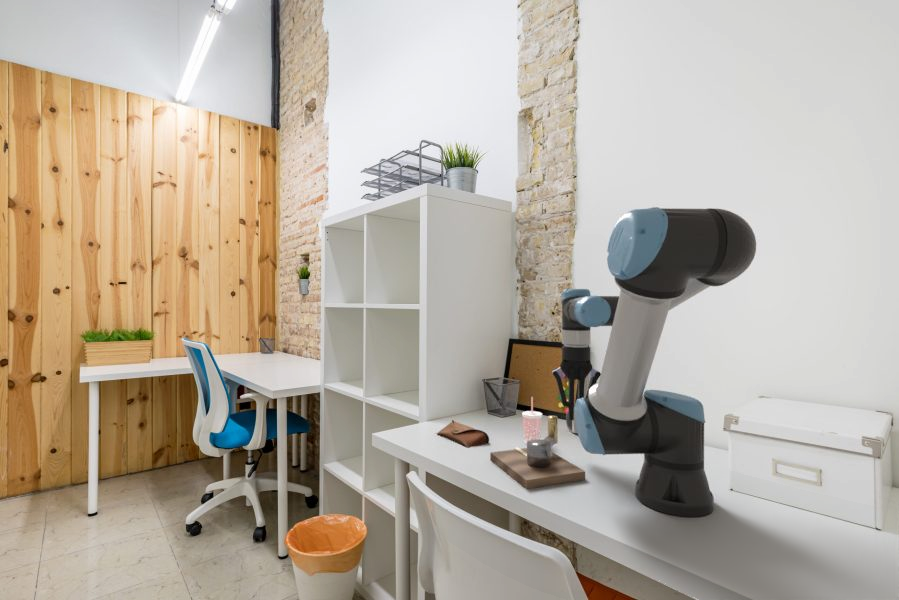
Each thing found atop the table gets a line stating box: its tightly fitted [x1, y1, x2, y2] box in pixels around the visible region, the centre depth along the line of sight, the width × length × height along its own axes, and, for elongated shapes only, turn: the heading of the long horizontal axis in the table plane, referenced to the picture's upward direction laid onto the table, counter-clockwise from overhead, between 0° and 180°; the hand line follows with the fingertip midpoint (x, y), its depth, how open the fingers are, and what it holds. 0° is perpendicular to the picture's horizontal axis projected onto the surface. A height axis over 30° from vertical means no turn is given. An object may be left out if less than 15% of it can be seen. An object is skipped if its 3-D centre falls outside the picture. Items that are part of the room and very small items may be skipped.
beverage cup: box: [521, 396, 543, 445], centre depth 137 cm, size 6×6×14 cm
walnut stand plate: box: [489, 446, 586, 490], centre depth 116 cm, size 20×16×2 cm
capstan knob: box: [526, 415, 559, 467], centre depth 118 cm, size 15×6×9 cm, turn 149°
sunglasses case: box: [436, 420, 490, 449], centre depth 142 cm, size 18×7×7 cm, turn 38°
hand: (575, 431), depth 123 cm, fingers closed
